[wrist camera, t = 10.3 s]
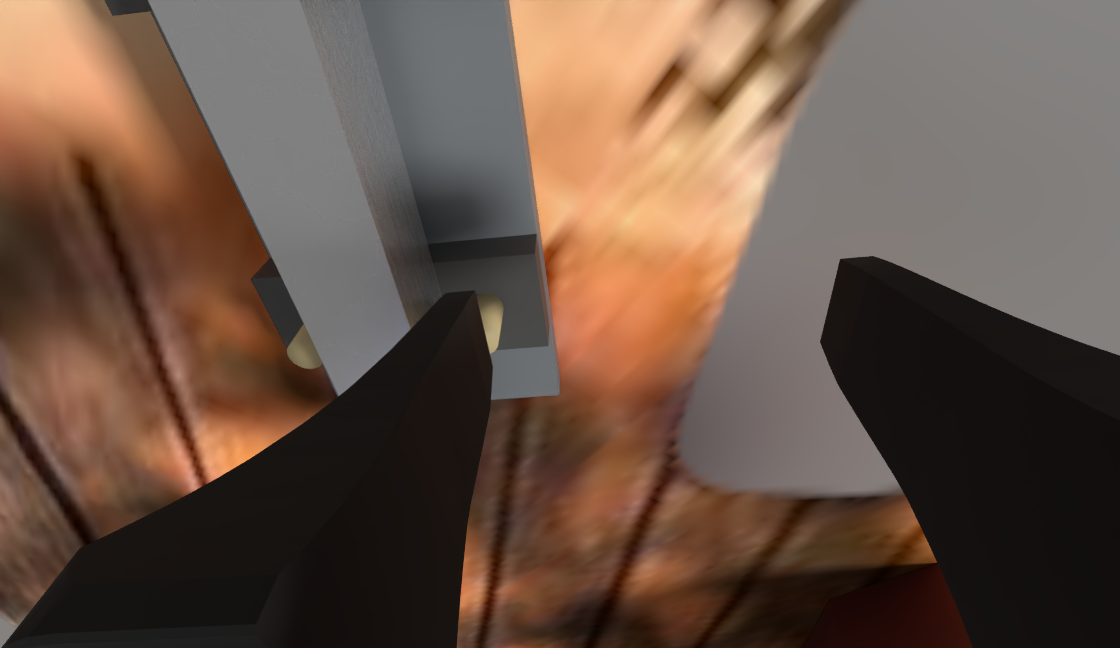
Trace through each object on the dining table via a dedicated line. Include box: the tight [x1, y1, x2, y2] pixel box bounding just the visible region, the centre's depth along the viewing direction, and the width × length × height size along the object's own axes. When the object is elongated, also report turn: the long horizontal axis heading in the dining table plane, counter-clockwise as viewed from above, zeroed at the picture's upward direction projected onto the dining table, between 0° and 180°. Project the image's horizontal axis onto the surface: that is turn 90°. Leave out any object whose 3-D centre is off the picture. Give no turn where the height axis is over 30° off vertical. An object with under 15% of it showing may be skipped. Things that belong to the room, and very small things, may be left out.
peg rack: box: [105, 0, 560, 400], centre depth 16 cm, size 24×10×5 cm, turn 6°
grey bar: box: [148, 0, 442, 396], centre depth 14 cm, size 24×4×4 cm, turn 6°
